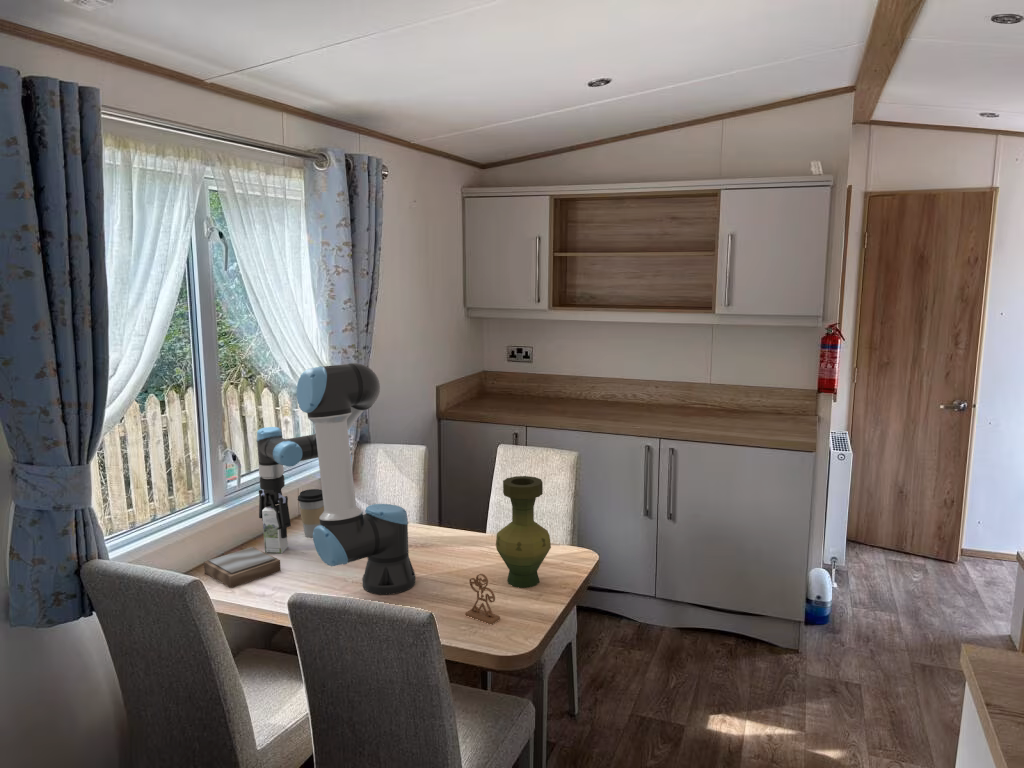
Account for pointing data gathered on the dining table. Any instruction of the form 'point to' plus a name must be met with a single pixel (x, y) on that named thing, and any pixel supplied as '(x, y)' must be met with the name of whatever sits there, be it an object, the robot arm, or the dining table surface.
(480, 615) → the gingerbread man figurine
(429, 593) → the dining table surface
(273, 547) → the syrup box
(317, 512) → the coffee cup
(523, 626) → the dining table surface
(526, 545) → the vase
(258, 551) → the stand
